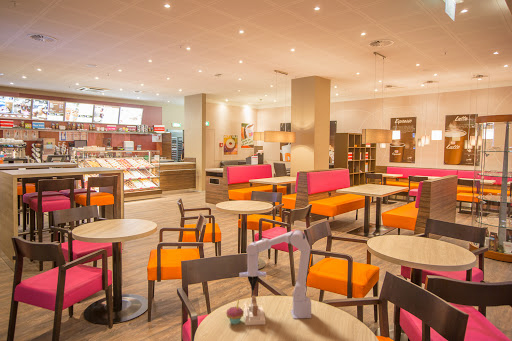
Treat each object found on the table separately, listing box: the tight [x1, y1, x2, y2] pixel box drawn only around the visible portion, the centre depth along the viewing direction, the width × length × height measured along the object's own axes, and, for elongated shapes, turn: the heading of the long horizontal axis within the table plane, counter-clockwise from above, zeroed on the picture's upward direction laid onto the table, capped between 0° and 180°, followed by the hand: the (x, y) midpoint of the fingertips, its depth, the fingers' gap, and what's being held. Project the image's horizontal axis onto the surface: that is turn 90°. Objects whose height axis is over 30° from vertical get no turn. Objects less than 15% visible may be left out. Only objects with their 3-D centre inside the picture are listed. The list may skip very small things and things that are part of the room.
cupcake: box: [225, 299, 244, 325], centre depth 157 cm, size 9×8×12 cm
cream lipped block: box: [243, 302, 266, 326], centre depth 161 cm, size 10×13×5 cm
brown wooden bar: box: [250, 295, 258, 316], centre depth 161 cm, size 2×11×5 cm, turn 5°
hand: (252, 289), depth 171 cm, fingers closed
